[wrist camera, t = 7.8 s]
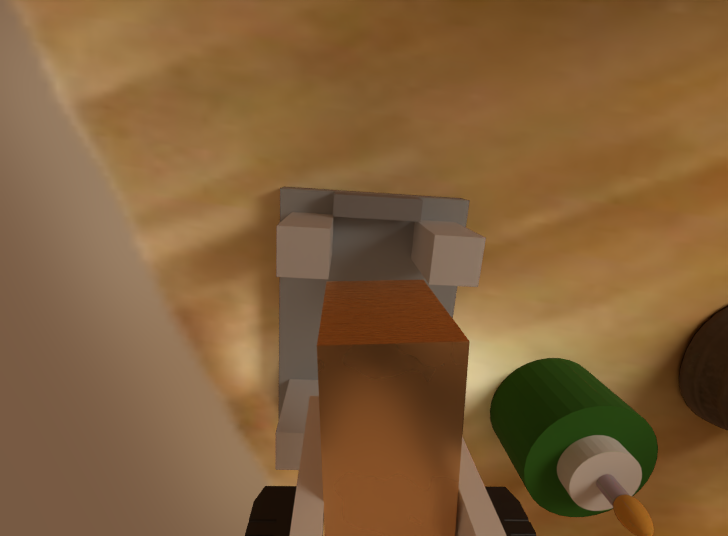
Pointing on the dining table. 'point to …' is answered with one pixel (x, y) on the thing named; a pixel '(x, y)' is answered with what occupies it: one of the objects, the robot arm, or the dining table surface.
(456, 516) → the robot arm
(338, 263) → the jig
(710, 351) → the beer stein
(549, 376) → the candle
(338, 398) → the block
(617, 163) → the dining table surface
